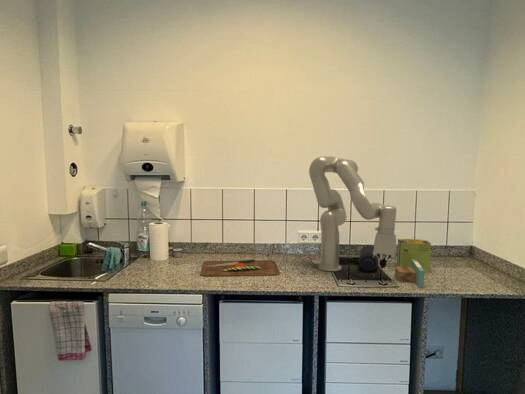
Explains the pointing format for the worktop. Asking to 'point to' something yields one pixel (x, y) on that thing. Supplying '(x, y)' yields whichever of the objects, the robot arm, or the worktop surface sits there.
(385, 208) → the robot arm
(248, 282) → the worktop surface
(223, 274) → the chopping board
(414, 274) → the brown rectangular box
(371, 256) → the portable speaker
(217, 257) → the worktop surface
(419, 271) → the teal board
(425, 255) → the protein box
